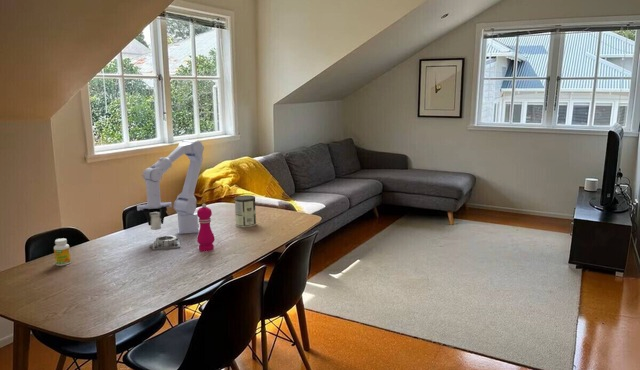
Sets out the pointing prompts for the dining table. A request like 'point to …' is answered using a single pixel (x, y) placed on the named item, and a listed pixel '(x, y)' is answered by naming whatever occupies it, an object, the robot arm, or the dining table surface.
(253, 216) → the coffee can
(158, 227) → the white knob
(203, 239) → the pepper mill
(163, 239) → the flange
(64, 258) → the supplement bottle
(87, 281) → the dining table surface
